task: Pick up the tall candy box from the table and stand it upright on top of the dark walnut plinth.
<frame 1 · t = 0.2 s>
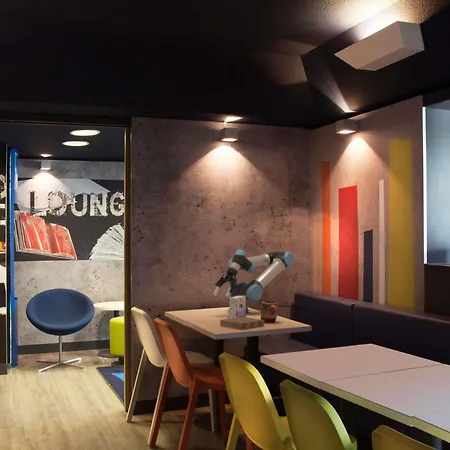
hand: (220, 295, 424), 16 cm above the table, tool tilted 35°, fingers open, 13 cm apart
decorative planter: (269, 322, 406), on the table
walnut plinth: (242, 326, 391), on the table
candy box: (237, 320, 415), on the table
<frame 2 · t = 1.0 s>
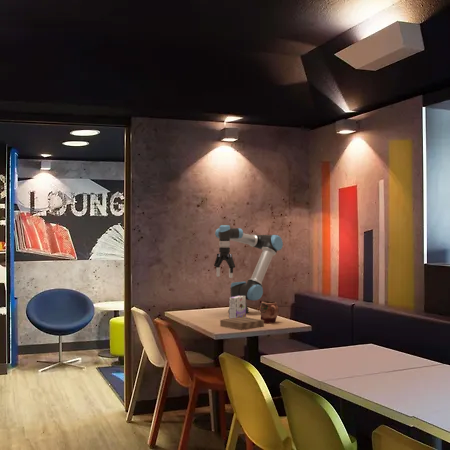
hand: (224, 277, 426), 29 cm above the table, tool pointing down, fingers open, 13 cm apart
nothing on the table moved.
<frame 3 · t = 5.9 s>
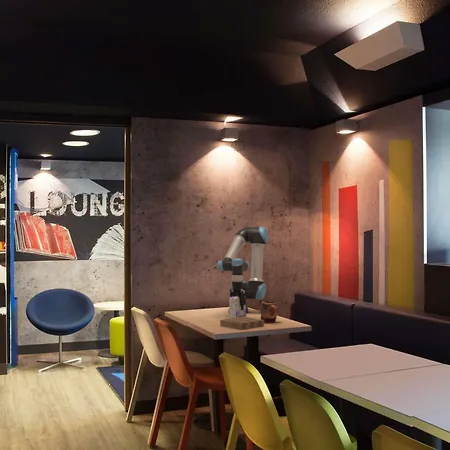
hand: (237, 314, 415), 4 cm above the table, tool pointing down, fingers closed on candy box, 7 cm apart
candy box: (237, 320, 415), on the table, touching gripper
everything else where it was.
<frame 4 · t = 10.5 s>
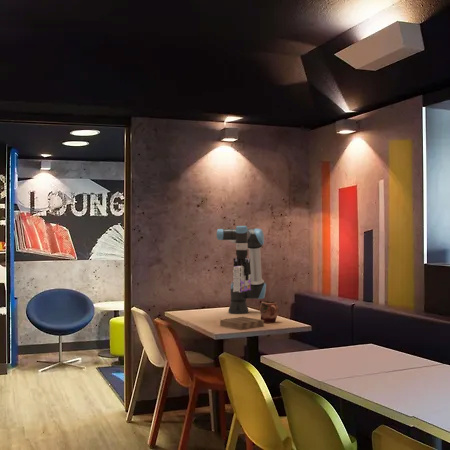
hand: (241, 285, 391), 27 cm above the table, tool pointing down, fingers closed on candy box, 7 cm apart
candy box: (241, 291, 391), point 22 cm above the table, touching gripper
everything else where it was.
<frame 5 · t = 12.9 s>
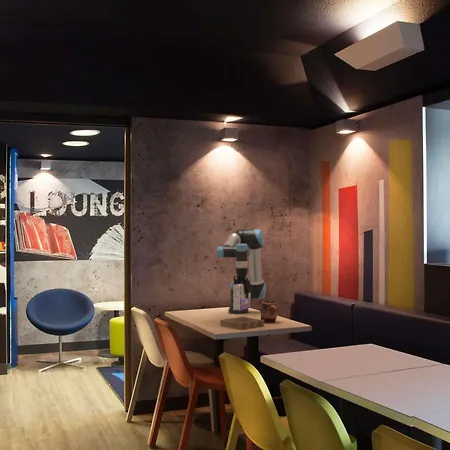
hand: (242, 303, 391), 15 cm above the table, tool pointing down, fingers closed on candy box, 7 cm apart
candy box: (241, 309, 391), point 11 cm above the table, touching gripper
everything else where it was.
when the fingers open (9 cm above the table, at t = 15.2 s): candy box drops 1 cm, resting on walnut plinth.
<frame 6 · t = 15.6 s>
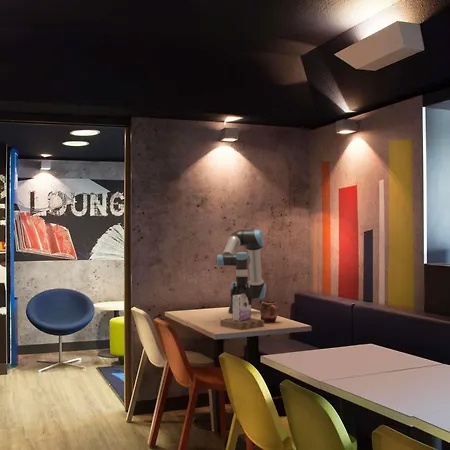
hand: (242, 309, 391), 11 cm above the table, tool pointing down, fingers open, 13 cm apart
candy box: (241, 320, 391), point 4 cm above the table, touching walnut plinth
everything else where it was.
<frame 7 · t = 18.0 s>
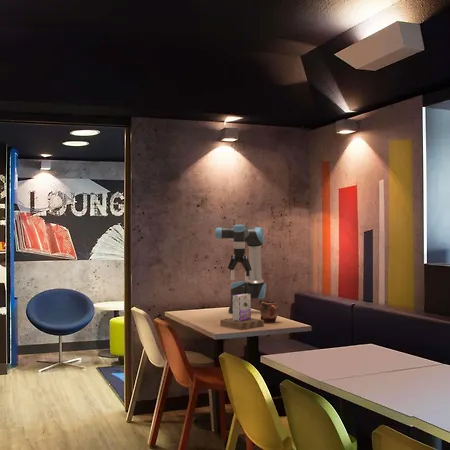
hand: (239, 280, 395), 29 cm above the table, tool pointing down, fingers open, 13 cm apart
nothing on the table moved.
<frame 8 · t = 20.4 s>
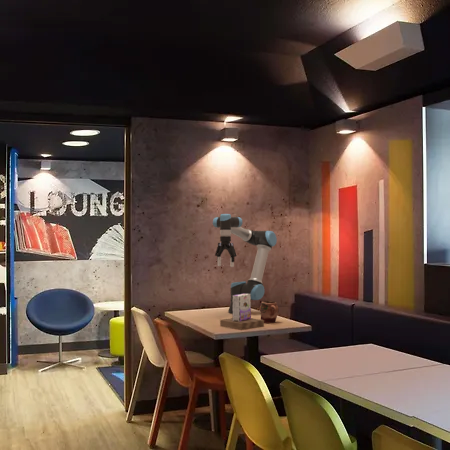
hand: (225, 266, 421), 37 cm above the table, tool pointing down, fingers open, 13 cm apart
nothing on the table moved.
at the end: candy box inside the target area on the walnut plinth (0.3 cm from its centre), point 3.8 cm above the walnut plinth's base; candy box tilted 0°; the gripper is holding nothing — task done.
